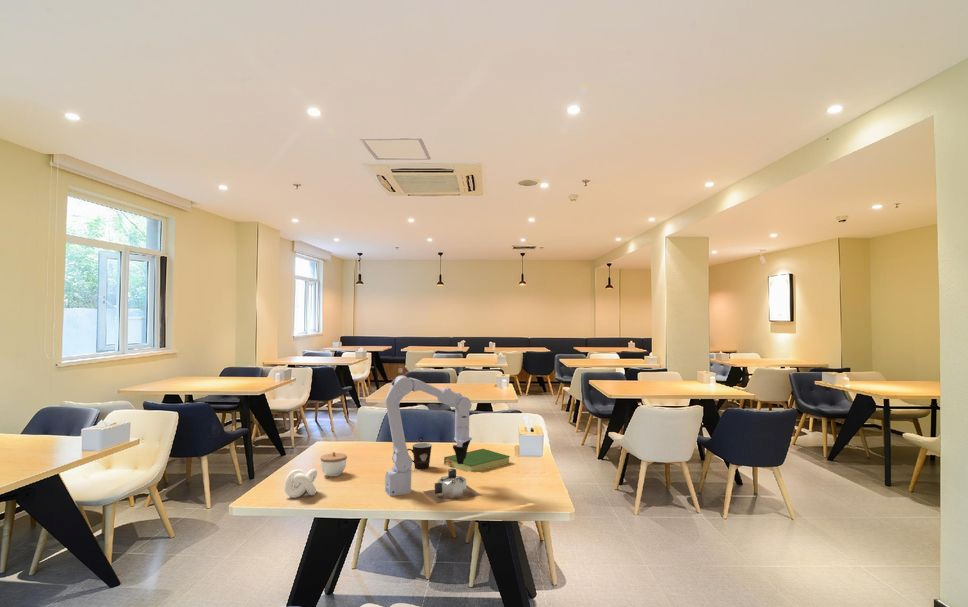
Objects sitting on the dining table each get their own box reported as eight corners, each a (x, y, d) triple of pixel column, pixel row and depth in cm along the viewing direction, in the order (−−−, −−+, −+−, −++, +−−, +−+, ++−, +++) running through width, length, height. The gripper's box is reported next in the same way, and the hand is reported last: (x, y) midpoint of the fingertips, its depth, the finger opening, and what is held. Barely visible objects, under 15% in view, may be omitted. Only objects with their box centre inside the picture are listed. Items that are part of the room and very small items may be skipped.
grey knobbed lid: (447, 487, 173) (447, 473, 173) (439, 481, 179) (439, 468, 180) (465, 484, 176) (465, 471, 177) (456, 479, 183) (456, 466, 183)
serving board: (437, 505, 167) (437, 503, 167) (422, 493, 179) (422, 491, 179) (481, 497, 176) (482, 495, 176) (465, 486, 188) (465, 484, 188)
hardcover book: (482, 456, 235) (483, 448, 235) (509, 464, 221) (509, 456, 222) (442, 465, 218) (443, 457, 219) (469, 475, 205) (469, 466, 205)
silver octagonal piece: (440, 500, 170) (440, 486, 170) (430, 492, 179) (430, 478, 179) (469, 495, 176) (469, 481, 176) (458, 487, 184) (458, 474, 185)
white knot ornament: (282, 502, 170) (282, 476, 170) (286, 491, 181) (286, 467, 182) (315, 499, 173) (316, 474, 173) (317, 488, 184) (317, 465, 185)
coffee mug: (433, 465, 217) (433, 443, 218) (429, 470, 209) (429, 447, 209) (408, 464, 218) (408, 442, 219) (403, 469, 210) (403, 446, 210)
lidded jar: (319, 479, 196) (319, 456, 196) (321, 471, 206) (321, 450, 207) (346, 477, 199) (346, 454, 199) (346, 470, 209) (347, 448, 209)
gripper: (470, 430, 181) (469, 466, 180) (473, 423, 195) (473, 456, 194) (451, 430, 181) (451, 466, 181) (457, 422, 196) (456, 456, 195)
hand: (461, 461), depth 188 cm, fingers open, 7 cm apart
